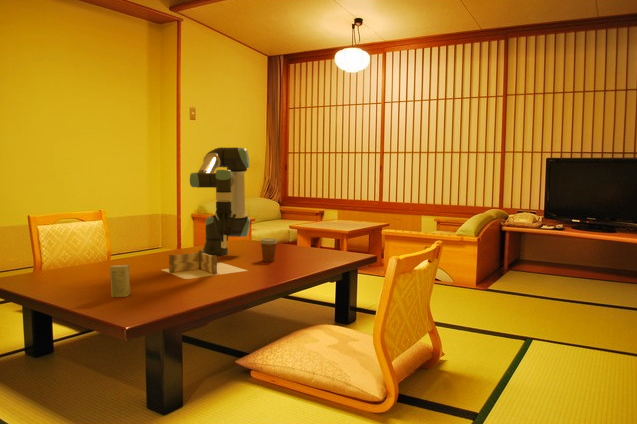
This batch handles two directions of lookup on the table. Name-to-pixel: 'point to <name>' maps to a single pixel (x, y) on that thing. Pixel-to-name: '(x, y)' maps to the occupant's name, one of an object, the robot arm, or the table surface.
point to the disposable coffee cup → (268, 249)
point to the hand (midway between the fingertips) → (223, 247)
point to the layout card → (198, 273)
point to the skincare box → (120, 280)
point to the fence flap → (209, 263)
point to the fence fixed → (185, 262)
